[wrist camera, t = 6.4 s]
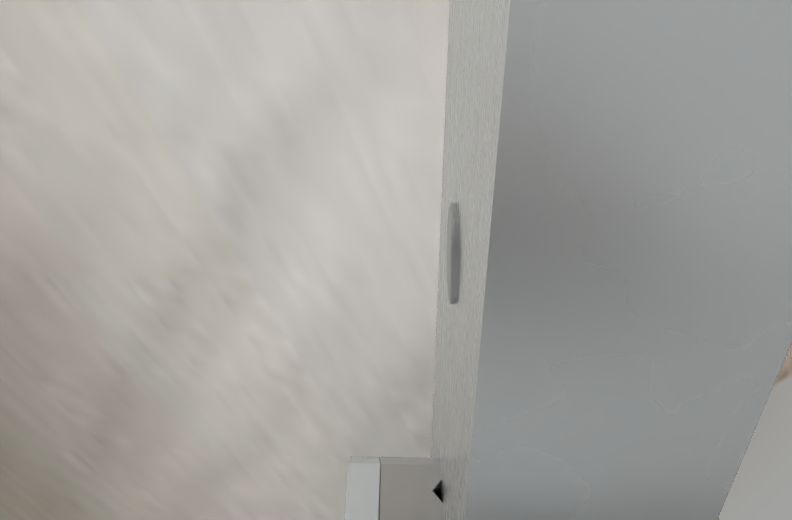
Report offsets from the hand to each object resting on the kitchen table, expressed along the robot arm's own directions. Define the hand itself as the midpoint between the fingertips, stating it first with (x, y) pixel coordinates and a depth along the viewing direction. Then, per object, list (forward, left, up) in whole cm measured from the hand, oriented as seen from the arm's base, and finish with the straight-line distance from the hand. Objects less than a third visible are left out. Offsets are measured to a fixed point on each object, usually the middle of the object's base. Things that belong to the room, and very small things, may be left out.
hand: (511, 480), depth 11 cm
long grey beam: (0, 0, -2) cm, 2 cm away
